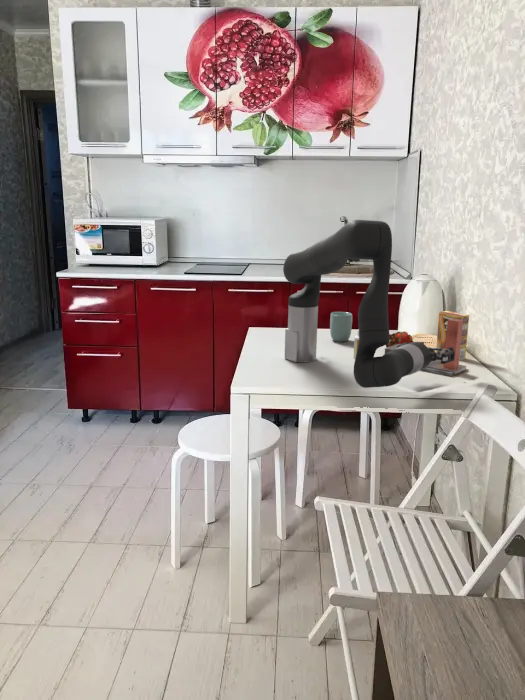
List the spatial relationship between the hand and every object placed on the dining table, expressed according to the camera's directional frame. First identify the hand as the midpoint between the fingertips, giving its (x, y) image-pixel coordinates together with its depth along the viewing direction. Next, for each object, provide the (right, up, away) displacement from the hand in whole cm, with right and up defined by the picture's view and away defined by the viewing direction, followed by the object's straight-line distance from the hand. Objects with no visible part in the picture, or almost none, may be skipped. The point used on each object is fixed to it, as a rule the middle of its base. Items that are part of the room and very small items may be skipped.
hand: (436, 348), depth 159 cm
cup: (-20, +3, +52) cm, 56 cm away
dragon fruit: (-2, -2, +34) cm, 35 cm away
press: (+1, -7, +16) cm, 17 cm away
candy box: (+12, -4, +28) cm, 31 cm away
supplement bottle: (-16, -5, +24) cm, 29 cm away
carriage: (+5, -6, +12) cm, 14 cm away
